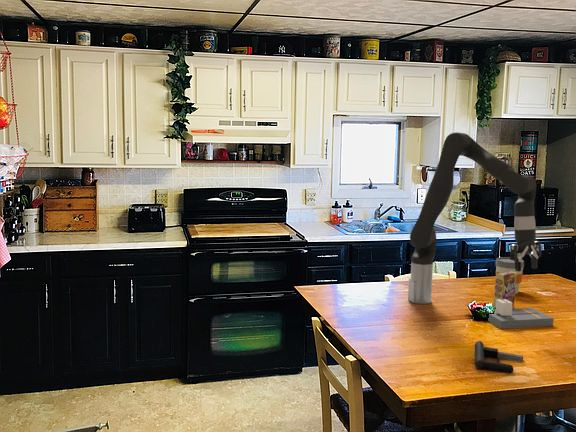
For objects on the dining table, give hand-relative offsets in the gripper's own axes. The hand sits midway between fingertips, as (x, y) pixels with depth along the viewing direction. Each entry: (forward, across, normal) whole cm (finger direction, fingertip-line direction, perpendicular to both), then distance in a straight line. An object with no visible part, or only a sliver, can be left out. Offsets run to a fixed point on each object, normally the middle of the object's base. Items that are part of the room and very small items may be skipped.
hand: (526, 269), depth 231 cm
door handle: (+23, +40, +22) cm, 51 cm away
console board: (+21, +1, -5) cm, 21 cm away
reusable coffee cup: (+19, -32, -40) cm, 54 cm away
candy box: (+20, -9, -21) cm, 30 cm away
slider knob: (+17, +7, -6) cm, 19 cm away
